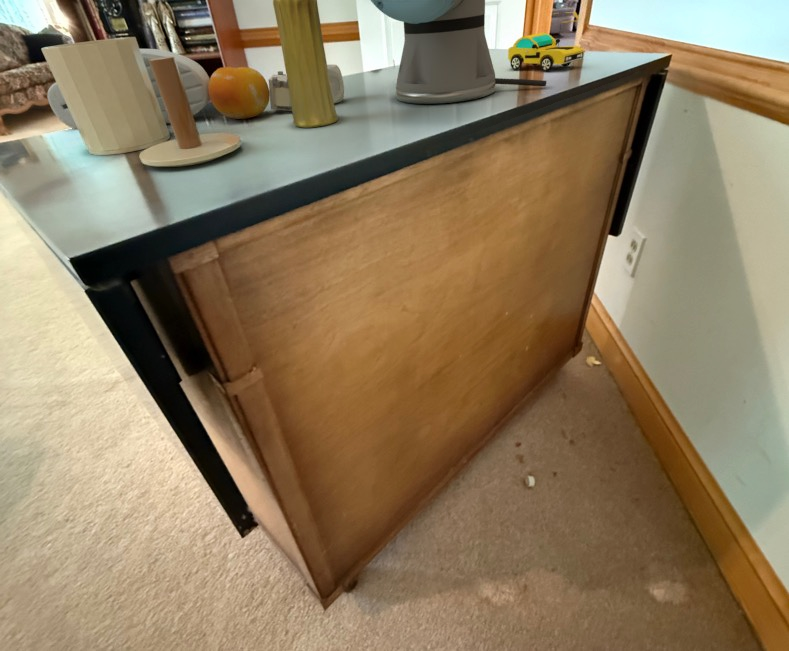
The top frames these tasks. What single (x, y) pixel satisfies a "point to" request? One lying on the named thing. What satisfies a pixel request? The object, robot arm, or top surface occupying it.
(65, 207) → the top surface
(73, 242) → the top surface
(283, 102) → the transformer
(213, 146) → the lid
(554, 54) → the toy car
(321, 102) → the vase
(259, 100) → the fruit
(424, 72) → the robot arm
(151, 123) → the pot
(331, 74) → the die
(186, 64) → the boat shoe
